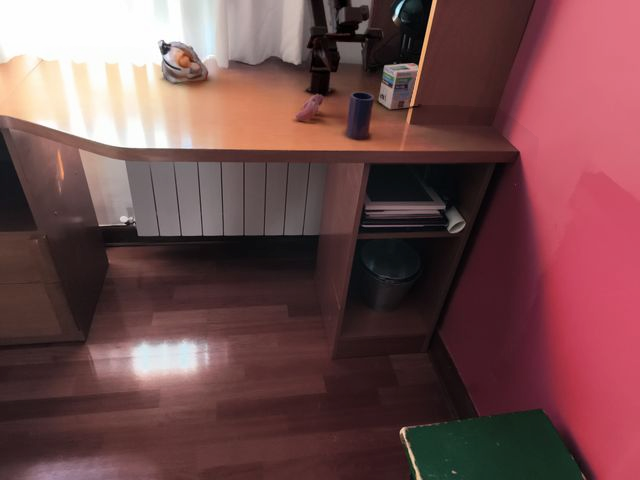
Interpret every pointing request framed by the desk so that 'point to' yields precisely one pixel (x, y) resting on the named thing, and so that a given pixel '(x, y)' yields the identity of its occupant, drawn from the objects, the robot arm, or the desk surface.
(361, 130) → the pencil cup
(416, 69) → the light bulb box
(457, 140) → the desk surface
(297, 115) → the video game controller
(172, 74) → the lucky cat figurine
